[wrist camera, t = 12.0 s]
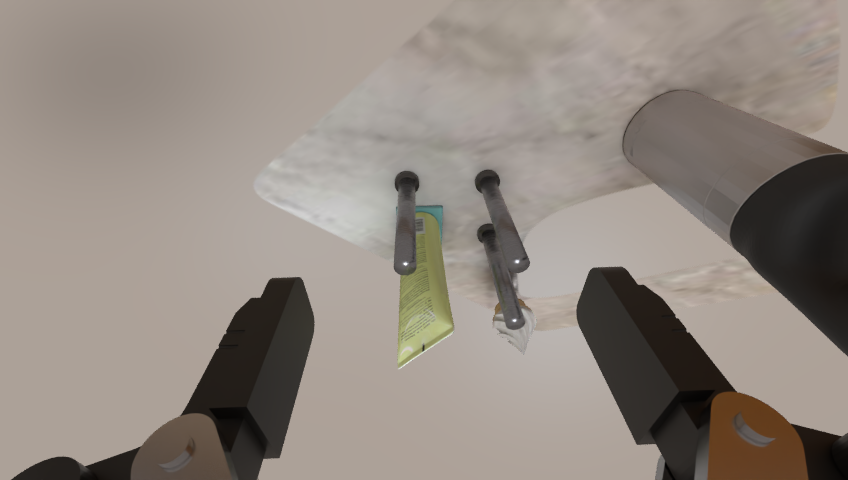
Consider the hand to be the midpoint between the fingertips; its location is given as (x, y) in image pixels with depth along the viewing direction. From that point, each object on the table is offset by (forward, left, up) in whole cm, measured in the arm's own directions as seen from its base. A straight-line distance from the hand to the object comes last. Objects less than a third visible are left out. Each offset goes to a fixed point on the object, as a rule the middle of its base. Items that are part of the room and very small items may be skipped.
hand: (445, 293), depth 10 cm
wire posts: (-4, +17, -32) cm, 36 cm away
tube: (0, +19, -32) cm, 37 cm away
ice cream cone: (-12, +28, -32) cm, 44 cm away
